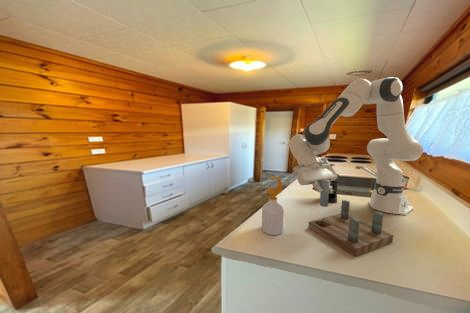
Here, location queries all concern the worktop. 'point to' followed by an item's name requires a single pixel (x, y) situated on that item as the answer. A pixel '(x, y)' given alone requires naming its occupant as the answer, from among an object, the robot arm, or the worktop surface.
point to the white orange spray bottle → (273, 212)
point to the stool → (352, 231)
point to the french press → (333, 190)
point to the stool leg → (324, 193)
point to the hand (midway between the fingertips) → (325, 190)
